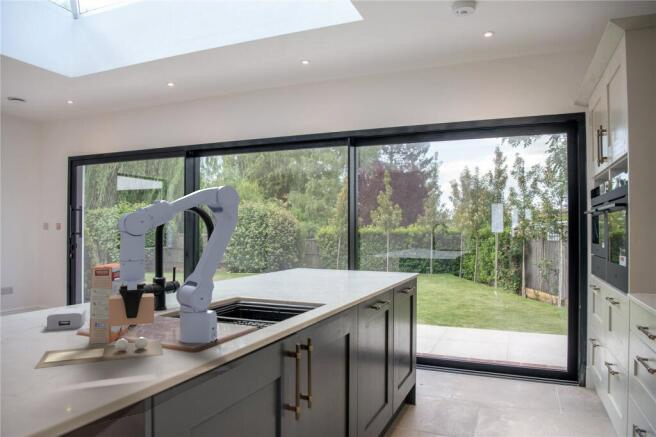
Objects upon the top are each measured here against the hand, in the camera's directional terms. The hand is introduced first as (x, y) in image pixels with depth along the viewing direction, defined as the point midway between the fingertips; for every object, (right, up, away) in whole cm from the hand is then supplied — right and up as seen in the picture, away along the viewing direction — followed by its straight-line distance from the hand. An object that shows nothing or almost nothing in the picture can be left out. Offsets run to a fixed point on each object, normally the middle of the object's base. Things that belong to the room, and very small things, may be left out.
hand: (131, 315), depth 108 cm
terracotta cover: (0, -2, 0) cm, 2 cm away
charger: (-35, -10, +33) cm, 50 cm away
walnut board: (-6, -9, -3) cm, 11 cm away
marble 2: (+2, -7, +1) cm, 7 cm away
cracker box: (-12, -10, +13) cm, 20 cm away
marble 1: (-2, -7, -1) cm, 7 cm away
